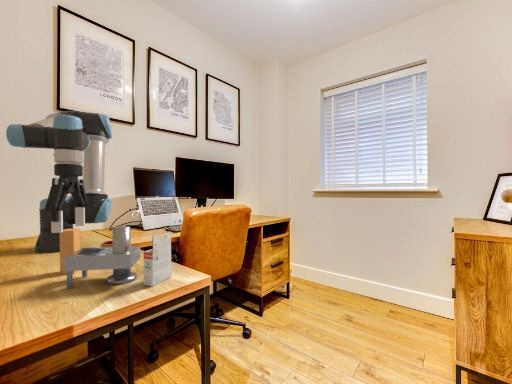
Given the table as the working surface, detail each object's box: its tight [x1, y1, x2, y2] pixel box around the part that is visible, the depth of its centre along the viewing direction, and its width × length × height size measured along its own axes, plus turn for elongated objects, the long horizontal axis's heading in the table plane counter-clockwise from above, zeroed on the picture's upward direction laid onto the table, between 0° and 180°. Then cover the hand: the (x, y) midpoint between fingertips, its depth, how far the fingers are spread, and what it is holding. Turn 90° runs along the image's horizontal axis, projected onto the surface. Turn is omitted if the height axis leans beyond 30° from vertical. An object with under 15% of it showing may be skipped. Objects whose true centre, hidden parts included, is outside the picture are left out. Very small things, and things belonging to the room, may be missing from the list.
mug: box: [100, 240, 113, 247], centre depth 100 cm, size 12×7×7 cm, turn 37°
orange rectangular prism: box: [59, 228, 81, 275], centre depth 83 cm, size 4×4×14 cm
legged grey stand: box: [65, 225, 141, 290], centre depth 76 cm, size 17×10×16 cm, turn 100°
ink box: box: [143, 230, 172, 287], centre depth 76 cm, size 4×8×15 cm, turn 158°
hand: (69, 229), depth 83 cm, fingers open, 13 cm apart
